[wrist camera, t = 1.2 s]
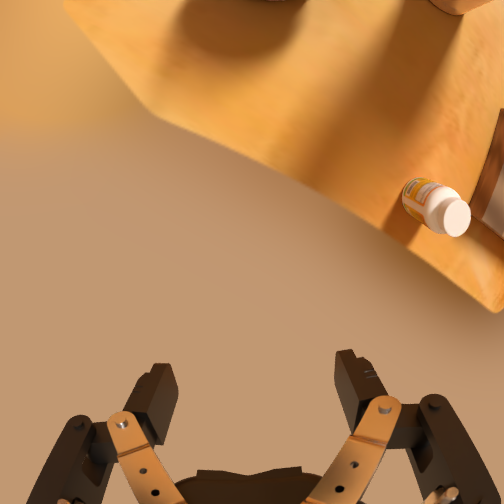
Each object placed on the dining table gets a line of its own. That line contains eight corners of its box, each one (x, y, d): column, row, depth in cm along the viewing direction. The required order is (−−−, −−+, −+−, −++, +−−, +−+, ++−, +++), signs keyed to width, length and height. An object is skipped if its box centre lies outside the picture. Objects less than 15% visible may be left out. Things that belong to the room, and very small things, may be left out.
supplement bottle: (433, 215, 33) (472, 241, 24) (400, 217, 33) (435, 246, 24) (434, 176, 31) (477, 192, 22) (400, 176, 31) (439, 193, 22)
